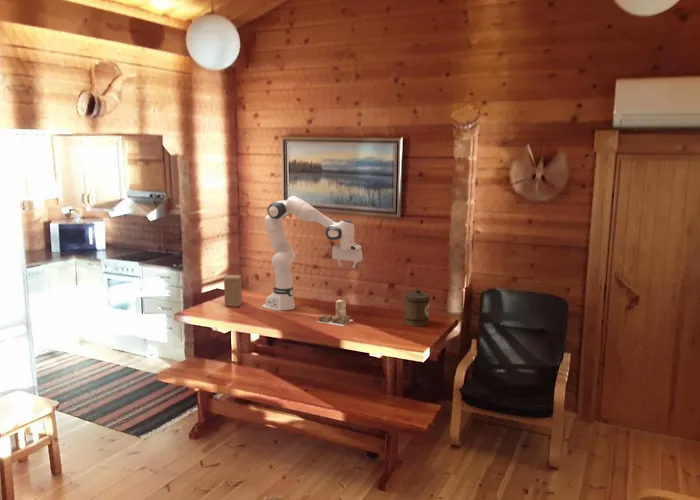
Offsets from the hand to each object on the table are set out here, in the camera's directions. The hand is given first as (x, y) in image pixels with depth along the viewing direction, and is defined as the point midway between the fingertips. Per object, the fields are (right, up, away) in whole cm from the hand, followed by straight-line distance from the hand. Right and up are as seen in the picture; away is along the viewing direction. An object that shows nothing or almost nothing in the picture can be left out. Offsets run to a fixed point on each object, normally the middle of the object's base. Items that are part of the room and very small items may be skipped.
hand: (347, 267), depth 377 cm
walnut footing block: (-13, -32, -12) cm, 37 cm away
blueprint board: (-7, -34, -12) cm, 36 cm away
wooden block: (-77, -27, +27) cm, 86 cm away
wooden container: (+43, -34, -11) cm, 56 cm away
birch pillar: (-4, -30, -14) cm, 33 cm away
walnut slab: (-4, -33, -14) cm, 36 cm away
